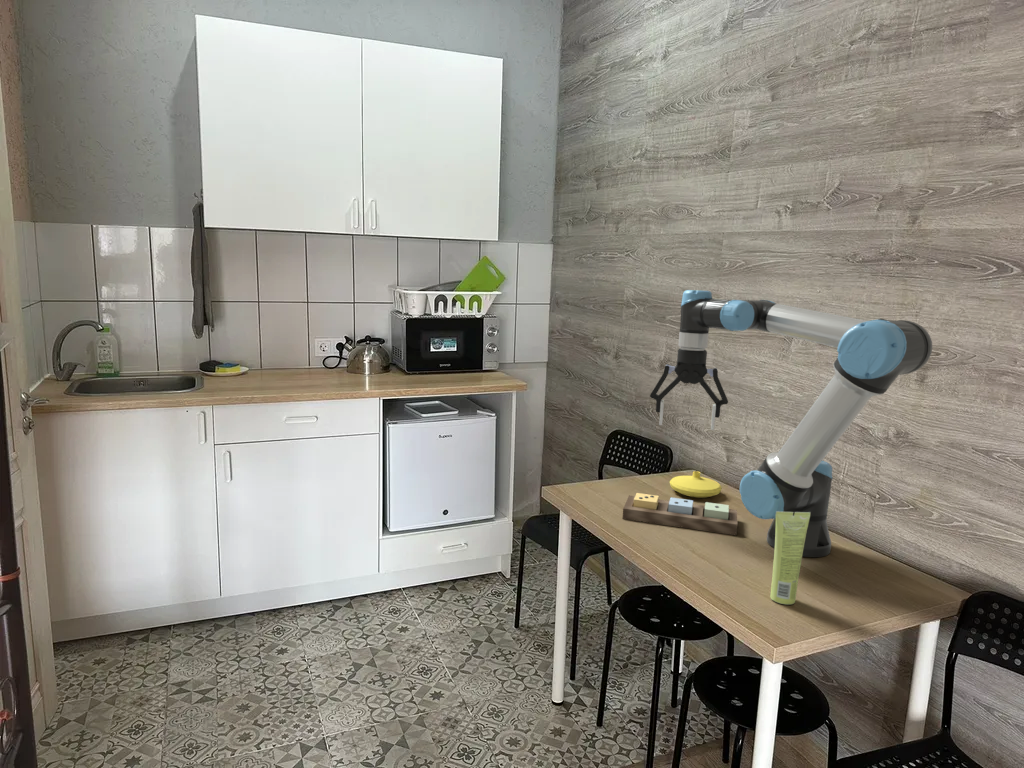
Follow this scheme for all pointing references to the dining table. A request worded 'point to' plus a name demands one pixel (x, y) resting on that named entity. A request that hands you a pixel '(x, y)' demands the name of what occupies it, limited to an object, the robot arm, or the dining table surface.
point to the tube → (788, 555)
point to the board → (681, 517)
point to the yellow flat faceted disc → (695, 485)
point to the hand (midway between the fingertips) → (686, 426)
